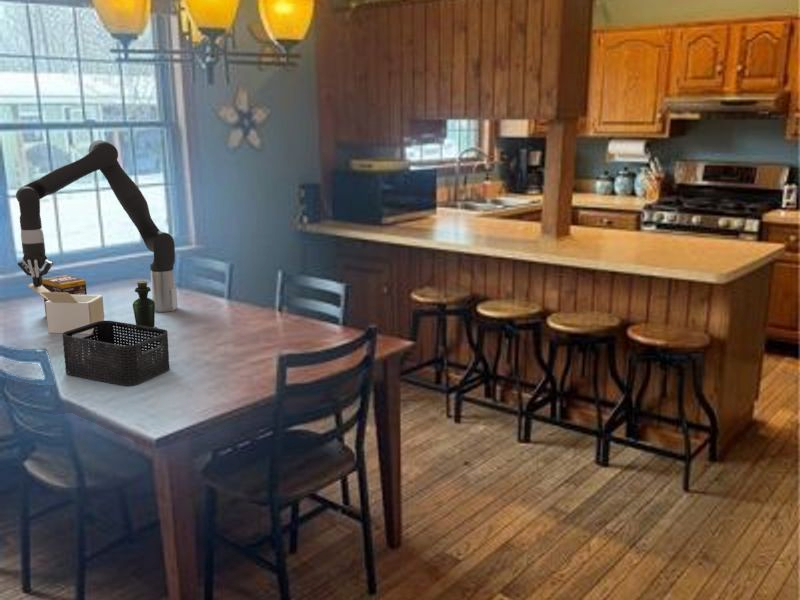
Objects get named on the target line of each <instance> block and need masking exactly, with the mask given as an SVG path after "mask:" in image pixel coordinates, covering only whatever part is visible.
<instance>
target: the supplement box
mask: <svg viewBox="0 0 800 600" xmlns="http://www.w3.org/2000/svg"><path fill="white" fill-rule="evenodd" d="M86 283H87V282H86V279H82V278H78V277H75V276H71V275H67V274H66V275H58V276H53V277H47V278H42V286H43V287H45V288H46V289H47V290H49V291H50V292H68V293H69V294H70V295H88V294H87V284H86ZM43 299H44V300H43V302H44V303H43V304H44V311H45V312H44V313H45V316H46V317H47V314H46V305H45V302H46V301H48V300H49V299H48V300H46V299H45V298H44V297H43Z"/></svg>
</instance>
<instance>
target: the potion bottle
mask: <svg viewBox="0 0 800 600" xmlns="http://www.w3.org/2000/svg"><path fill="white" fill-rule="evenodd" d="M136 284H137V287H135V289H134V292H135V293H137V294H138V298H137V299H136V300H134V301H133V303H132V310H133V315H134V320H135V325H140V326H146V327H152V328H155V322H156V321H155V319H156V318H155V317H156V314H155V313H156V311H155V302H154V301H153V299H152V298H149V297H148V294H149V292H152V288H151V286H148V281H147V280H140V281H136Z"/></svg>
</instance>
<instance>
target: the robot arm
mask: <svg viewBox="0 0 800 600" xmlns="http://www.w3.org/2000/svg"><path fill="white" fill-rule="evenodd" d="M87 152H88V154H86V155H85V156H83V157H81V158H80V159H77V160H75V161H73V162H69V163H67V164H65V165H62V166H61V167H57V168H55V169H54V170H51V171H50V172H48V173H47V174H45V175H43V176H41V177H39V178H38V179H36V180H33V181H31V182H29V183H27V184H25V185H23V186H21V187H20V188H19V189H17V191H16V193H15V198H16V200H17V202H18V205H19V213H20V215H19V224H20V239H21V247H22V253H23V257H22V260H21V261H20V262H19V261H18V262H17V265H18V267H19V268H20V269H21V270H22V271H23V272H24V273H25V275H26V276H30V277H31V278H32V283H33V285H35V287H40V286H41V285H42V286H43V284H42V279H43V276H45V275H47V274H48V273H49V271H50V270H51V268H52V266H54V261H50V260H48V258H47V255H46V243H45V236H44V232H43V231H44V230H43V225H42V219H41V200H42V199H43V198H45V197H47V196H49V195H53V194H55V193H57V192H59V191H61V190H62V189H64V188H66V187H67V186H69V185H71V184H72V183H74V182H76V181H79V179H81V178H83V177H86V176H88V175H90V174H92V173H94V172H97V171H100V173H102V175H103V176H104V177H105V179H106V181H107V182H108V185H109V186H110V188H111V190H112V192H113V194H114V195H115V197H116V199H117V200H118V203H119V205H121V207H122V208H123V210H124V211H125V213H126V214H127V215H128V218H129V219H130V220H131V221H132V223H133V225H134V226H135V227H136V229H137V231H138V233H139V235H140V237H141V238H142V241H143V243H144V244H145V247H146V248H147V249H148V250H149V251H150V252H152V253H153V260H152V262H151V263H150V264H149V269H150V283H151V296H152V298H151V299H152V300H153V301H154V302H155V313H157V312H158V313H165V312H168V313H169V312H174V311H175V310H177V309H178V307H179V306H178V292H177V286H176V285H175V284H176V283H175V271H174V269H175V268H174V265H175V262H176V251H175V249H176V248H175V240H174V238H173V236H172V235H171V234H170V233H168V232H164V231H161V230H160V229H159V228H158V226H157V225H156V224H155V222H154V220H153V219H152V216H151V214H150V208H149V204H148V201H147V199H146V198H145V196H144V195H143V193H142V192H141V190H140V188H139V187H138V185H137V184H136V183H135V182H134V181H133V180H132V178H131V176H129V175H128V174H127V173H126V171H125V170H124V169H123V167H122V166H121V164H120V162H119V161H118V158H119V152H118V149H117V147H115V146H114V144H112V143H110V142H107V141H106V140H98V139H97V140H94V141H92V142H91V143H90V144H89V146H88V151H87Z"/></svg>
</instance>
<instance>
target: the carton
mask: <svg viewBox="0 0 800 600" xmlns="http://www.w3.org/2000/svg"><path fill="white" fill-rule="evenodd" d="M71 296H72V297H73V298H74V299H75V300H77V301H78V303H52V302H51V301H50V300H48V301H46V302H45V303H44V306H45V305H46V314H47V316H46V320H47V321H46V322H47V331H48V334H63V333H64V332H66V331H69V330H73V329H76V328H79V327H82V326H85V325H89V324H92V323H95V322H98V321H105V312H104V311H105V310H104V299H103V298H104V297H103V295H101V294H87V295H71ZM46 314H45V315H46ZM96 328H97V327H96ZM93 329H94V328H93ZM93 329H90V330H87V331H84V332H81V333H77V334H81V335H82V334H83V335H92V334H93ZM77 334H76V335H77Z"/></svg>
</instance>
